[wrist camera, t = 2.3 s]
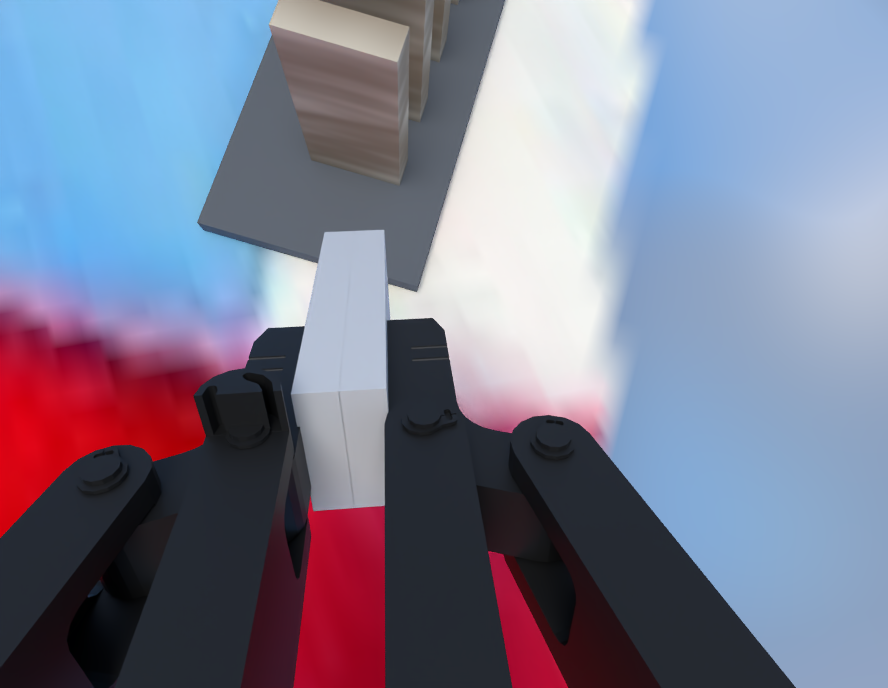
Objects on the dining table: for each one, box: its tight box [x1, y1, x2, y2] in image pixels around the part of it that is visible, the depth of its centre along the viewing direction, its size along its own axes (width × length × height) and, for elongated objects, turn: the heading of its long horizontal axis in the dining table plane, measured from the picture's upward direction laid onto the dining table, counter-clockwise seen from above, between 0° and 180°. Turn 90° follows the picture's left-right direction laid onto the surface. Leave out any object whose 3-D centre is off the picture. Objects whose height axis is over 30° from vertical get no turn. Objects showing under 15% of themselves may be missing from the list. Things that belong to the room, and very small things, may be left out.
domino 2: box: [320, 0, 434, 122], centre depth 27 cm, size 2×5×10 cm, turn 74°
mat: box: [197, 0, 505, 292], centre depth 34 cm, size 30×12×1 cm, turn 164°
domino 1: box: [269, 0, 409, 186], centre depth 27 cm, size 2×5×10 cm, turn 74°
